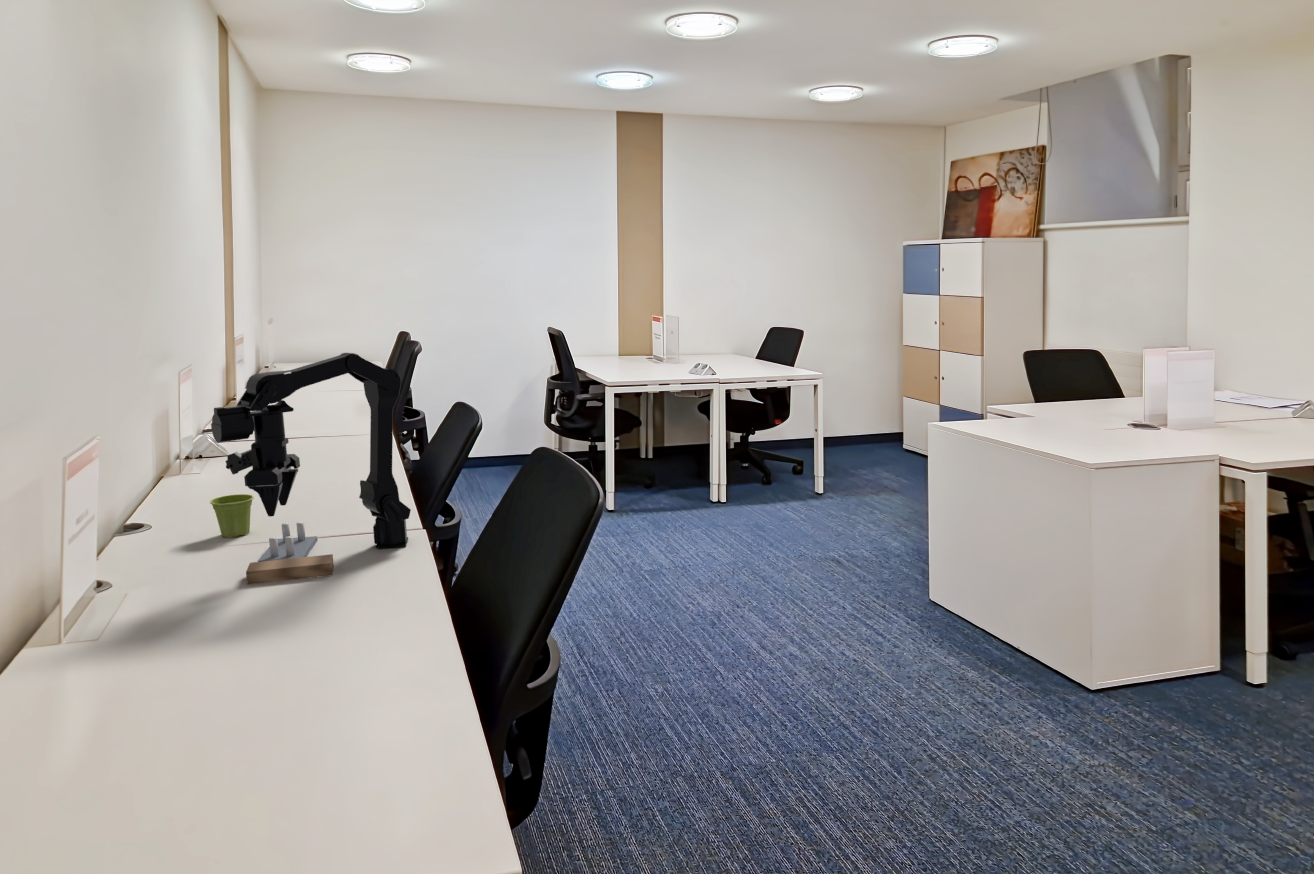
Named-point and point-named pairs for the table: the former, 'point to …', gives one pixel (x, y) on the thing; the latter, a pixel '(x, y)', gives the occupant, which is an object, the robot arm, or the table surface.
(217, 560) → the table surface
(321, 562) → the shelf board
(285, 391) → the robot arm
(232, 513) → the plant pot
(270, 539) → the peg stand
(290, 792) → the table surface
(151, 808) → the table surface
